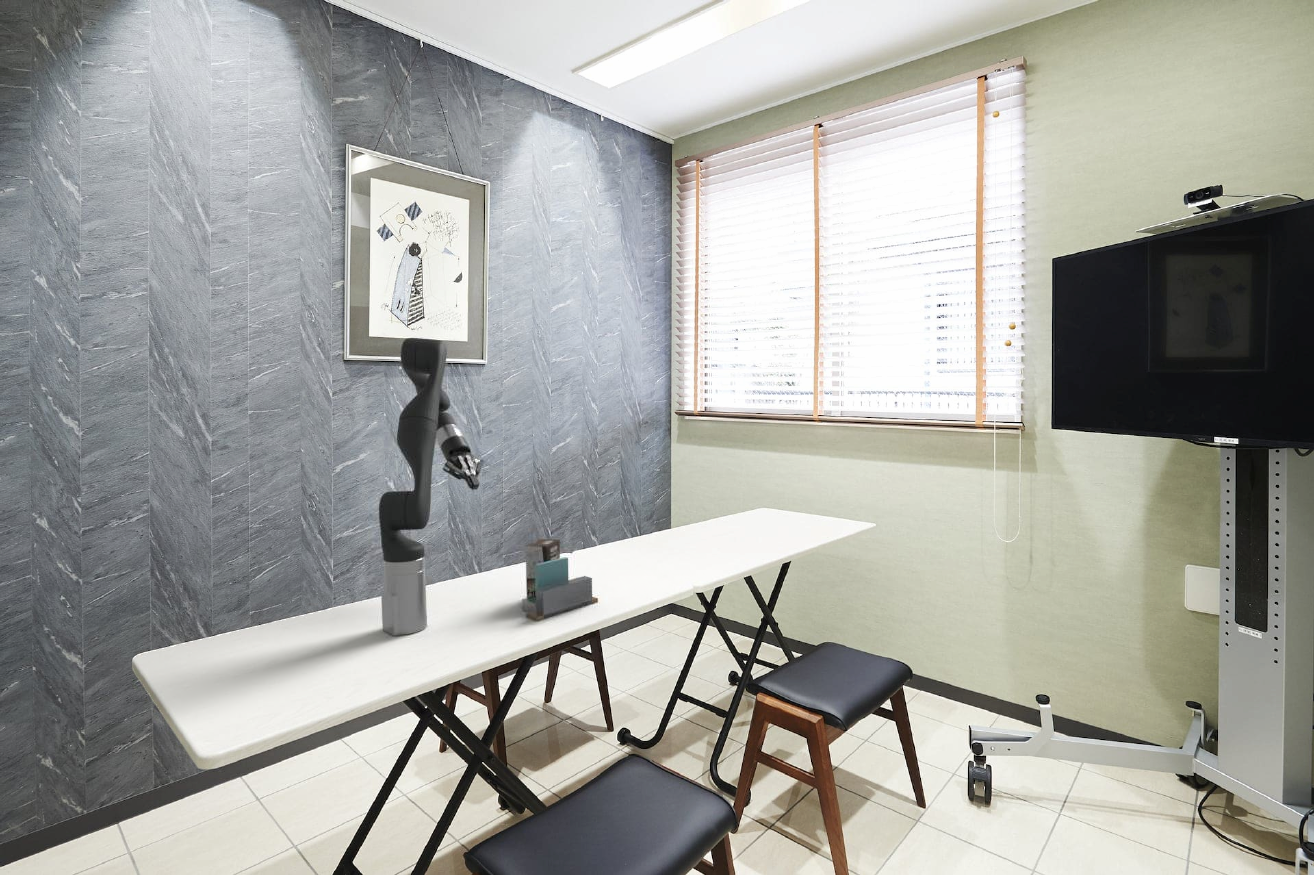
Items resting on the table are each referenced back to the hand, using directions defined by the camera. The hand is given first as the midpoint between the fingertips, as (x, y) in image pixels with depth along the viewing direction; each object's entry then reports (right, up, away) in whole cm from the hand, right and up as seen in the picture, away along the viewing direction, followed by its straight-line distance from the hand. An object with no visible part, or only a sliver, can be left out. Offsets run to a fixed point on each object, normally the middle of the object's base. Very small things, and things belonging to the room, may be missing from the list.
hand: (475, 487), depth 184 cm
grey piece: (+25, -30, -13) cm, 41 cm away
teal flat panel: (+23, -28, -13) cm, 39 cm away
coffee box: (+21, -30, -8) cm, 38 cm away
